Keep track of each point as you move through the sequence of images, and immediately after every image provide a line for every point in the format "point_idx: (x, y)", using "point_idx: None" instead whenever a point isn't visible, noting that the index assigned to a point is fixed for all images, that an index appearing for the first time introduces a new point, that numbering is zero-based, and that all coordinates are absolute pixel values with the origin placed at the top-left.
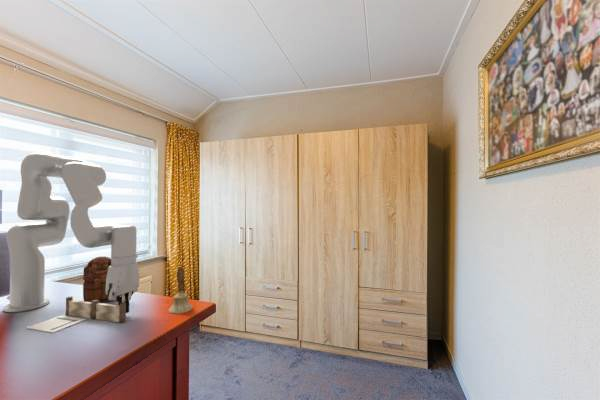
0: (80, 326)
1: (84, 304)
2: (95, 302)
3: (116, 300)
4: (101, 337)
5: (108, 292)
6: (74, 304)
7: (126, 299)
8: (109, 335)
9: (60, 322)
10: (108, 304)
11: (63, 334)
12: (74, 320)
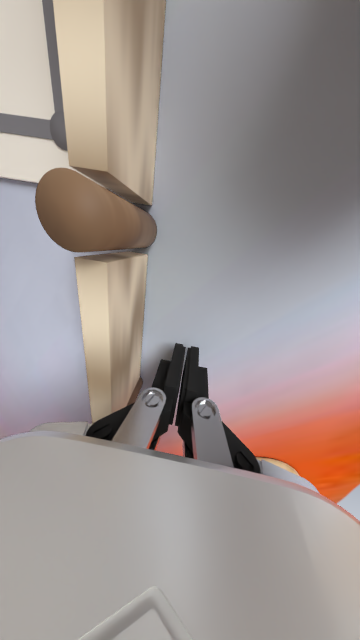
0: (49, 243)
1: (69, 38)
2: (66, 242)
3: (116, 418)
4: (37, 382)
5: (25, 453)
6: None
7: (180, 434)
8: (54, 393)
9: (2, 27)
10: (102, 360)
11: None
12: (62, 129)
